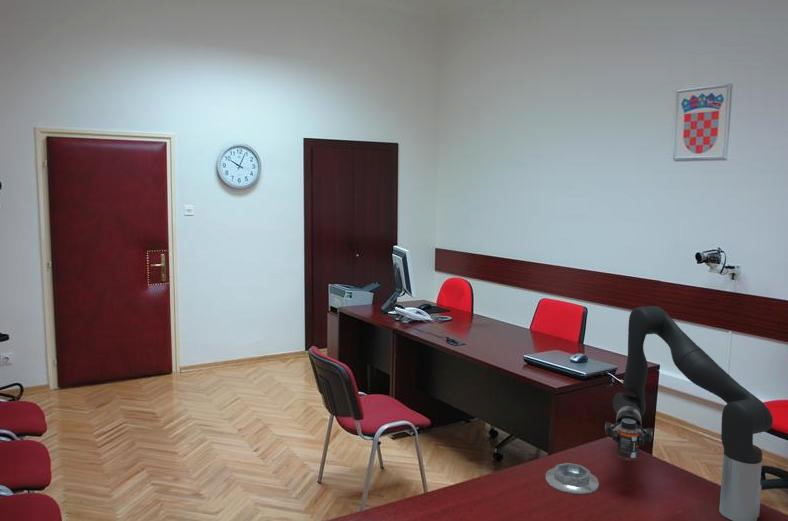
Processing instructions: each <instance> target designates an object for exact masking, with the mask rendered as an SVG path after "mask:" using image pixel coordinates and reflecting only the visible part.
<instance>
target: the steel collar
mask: <svg viewBox="0 0 788 521" xmlns="http://www.w3.org/2000/svg"><path fill="white" fill-rule="evenodd" d="M545 482H546V483H547V484H548V485H549V486H550V487H551V488H553V489H556V490H557V491H560V492H563V493H566V494H567V493H568V494H571V495H572V494H573V495H588V494H593V493H595V492H596V491H597V490H598V489H599V487H600V482H599V479H598V477H597V476H595V475H594V474H592V473H591V471H590V470H589V469H588V468H586V467H584V466H583V465H581V464H576V463H572V462H571V463H570V462H564V463H558V464H555V467H553V468H550V469H548V470H547V471H546V472H545Z"/></svg>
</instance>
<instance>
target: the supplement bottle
mask: <svg viewBox="0 0 788 521" xmlns="http://www.w3.org/2000/svg"><path fill="white" fill-rule="evenodd" d="M621 424H622V425H621V426H619V427H618V438H617V442H616V456H617V457H618V458H619V459H621V460H624V461H631V462H632V461H636V460H637V459H638V458H639V447H640V446H639V430H638V429H637V428H636V421H635V420H632V419H622V423H621Z"/></svg>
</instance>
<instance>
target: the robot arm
mask: <svg viewBox="0 0 788 521" xmlns="http://www.w3.org/2000/svg"><path fill="white" fill-rule="evenodd" d="M627 327H628V332H627V358H626V365H625V370H624V376H623V381H622V386H623V387H624V389H625V390H627V391H629V392H631V393H632V394H630V393H625V392H618V393H616V394H615V395H614V397H613V400H612V406H613V409H614V410H613V411H614V412H615V414H616V419H615V423H613V424H612V423H610V421H605V424H604V431H605V434H606V436H607V437H611V440H612V441H614V443H617V438H618V427H619V426H621V425H622V424H621V423H622V419H632V420H635V421H636V428H637V429H638V430H639V446H638V447H642V446H644V444H645V442H646V443H651V441H652V439H653V428H652V427H648V428H644V427H643V426H642V417H643V416H644V415H645V413H646V409H647V406H646V404H647V403H646V398H645V396H646V395H645V390H646V389H645V388H646V383H647V377H648V373H649V364H648V361H647V360H648V359H647V357H646V355H645V351H644V350H645V349H644V344H645V340H646V337H647V335H654V334H655V335H657V336H658V337H660V338H661V339H662V340H663V341H664V342H665V344H667V346H668V347H669V350H670V354H671V358H672V361H673V364H674V365H675V367H676V369H678V371H679V372H681V373H682V374H683V376H684V377H685V378H686V379H688V380H689V382H691V383H693V384H694V385H695V386H697V387H699V388H701V389H703V390H704V391H707V392H709V393H711V394H713V395H715V396H717V397H718V398H720V399H721V400H722V401H724V402H725V403H726V404H725V405H724V408H723V410H722V414H721V429H720V430H721V437H720V438H721V444H722V446H723V454H722V455H723V457H722V467H721V468H722V469H721V480H720V482H721V484H720V498H719V514H721V516H723V517H724V518H725V519H728V520H730V521H758V518H760V513H761V512H760V511H761V510H760V509H761V499H762V489H763V488H762V484H761V477H762V464H763V463H762V462H763V451H762V449H761V448H760V447H759V446H757V445H754V444H753V443H754V434H755V435H756V434H760V433H764V432H766V431H768V430H770V429H771V428H772V427H773V424H774V419H773V415H772V412H771V411H770V409H769V407H768V406H767V405H766V403H764V402H763V401H762V400H760V399H759V398H758V397H757V396H756V395H754V394H753V393H751V391H749V390H748V389H746V388H745V387H743V386H742V385H741V384H740V383H739V382H738V381H736V379H734V378H733V377H732V376H731V375H730V374H729V373H727V371H726V370H724V369H723V368H722V367H721V366H720V365H719V364H718V363H717V362H716V361H715V360H714V359H713V358H711V356H710V355H709V354H707V353H706V352H705V351H704V350H703V349H702V348H701V347H699V345H697V344H696V342H695V341H693V339H691V338H690V337H689V336H688V335H687V333H685V332H684V331H683V330H682V328H680V326H678V324H677V323H676V322H675V320H673V318H672V317H671V316H670V314H669V313H667V311H666V310H664V309H663V308H661V307H660V306H657V305H650V306H649V305H648V306H638V307H635V308H633V309H632V311H631V312H630V314H629V317H628V326H627ZM633 393H634V395H633Z"/></svg>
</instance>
